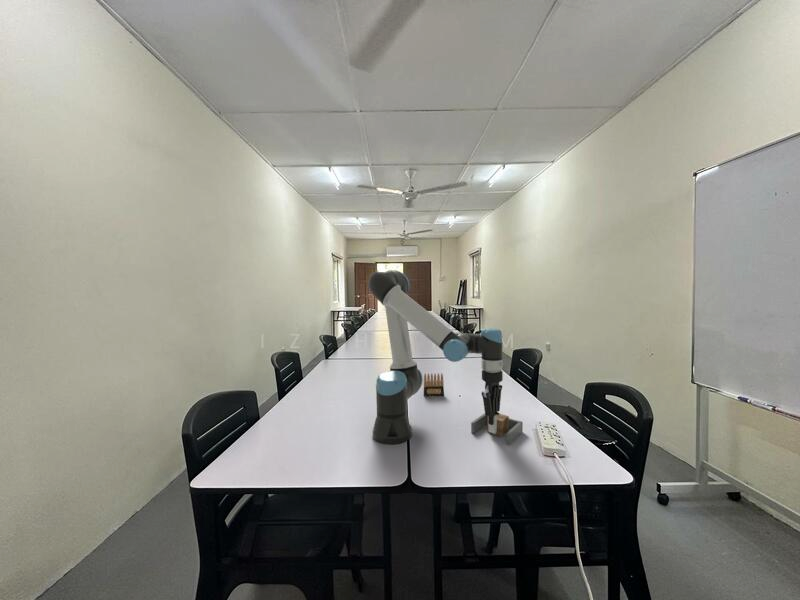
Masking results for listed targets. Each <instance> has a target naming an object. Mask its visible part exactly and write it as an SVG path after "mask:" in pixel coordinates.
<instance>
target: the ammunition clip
mask: <svg viewBox="0 0 800 600" xmlns="http://www.w3.org/2000/svg"><path fill="white" fill-rule="evenodd" d="M433 375H434V376H433ZM444 387H445V386H444V375H443V373H442V372H441V374H440V373H434V374H433V373H430V374H429V373H427V374H426V373H424V375H423V397H444V396H445V389H444Z"/></svg>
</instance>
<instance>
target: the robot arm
mask: <svg viewBox="0 0 800 600" xmlns="http://www.w3.org/2000/svg"><path fill="white" fill-rule="evenodd" d="M367 285H368V290H369V292H370V293H371V295H372V296H373V297H374V298H375V299H376V300H377V301H378V302H380V305H383V307H384V308H385V316H386V321H387V322H386V323H387V330H388V337H389V338H388V339H389V344H390V351H391V353H390V354H391V357H392V358H391V359H392V363H391V364H390V365H389V370H388V371H385V372H382V373H380V374H379V375H378V376H377V377H376V383H375V390H376V392H375V394H376V395H375V396H376V399H375V400H376V416H375V421H374V424H373V427H372V438H373V440H375V441H376V442H378V443H380V444H385V445H397V444H402V443H405V442H407V441H409V440H410V439H411V438H412V435H413V432H412V431H413V429H412V426H411V424H410V420H409V416H408V404H407V403H408V400H409V399H410V398H411V397H412V396H414V395H416V394H417V393H418V392H419V390H420V389H421V388H422V385H423V382H424V377H423V374H422V372H421V371H420V369H419V368H418V364H417V362H416V361H415V360H414V359H413V353H412V347H411V346H412V345H411V344H412V343H411V338H410V333H409V332H410V331H409V324H410V325H411V326H413V327H414V328H415V329H416V330H418V331H419V332H420V333H421V334H422V335H424V336H425V337H426V338H427V339H428V340H429V341H431V342H432V343H433V344H434V345H435V346H437V347H438V348H439V349H441V350H442V352H443V353H442V354H443V355H444V357H445V359H447V360H448V361H449V362H451V363H455V362H456V363H457V362H459V361H462V360H464V359H466V357H467V356H468V355H469V354H477V355H478V354H481V369H482V370H481V380H482V381H484V383H485V385H484V391H481V397H482V399H483V400H482V401H483V409H484V413H485V415H488V432H487V433H489V432H491V433H490V434H492V433H494V434H493V435H495V434H496V433H497V415H499V414H501V413H500V409H501V397H502V390H503V385H502V384H500V383H501V382H503V379H504V378H503V377H504V376H503V365H504V362H503V333H502V330H500V329H499V328H493V327H492V328H489V327H487V328H482V329H481V332H480V333H465V332H464V333H463V332H453V330H452V329H451V328H449V327H448V326H447V325H446V324H445V323H443V322H441V321H440V320H439V319H438V318H437V317H435V316H434V315H433V314H432V313H430V312H429V311H428V310H426V308H424V307H423V306H421V305H420V304H419V303H418V302H416V301H415V299H413V298H411V297H410V296H409V295H408V292H409V290H410V287H411V285H410V280H409V279H408V277H407V276H406V275H405V273H403V272H401V271H399V270H392V269H391V270H390V269H383V268H382V269H377V270H375V271H374V272H373V273H371V274H370V276H369V279H368V283H367ZM408 323H409V324H408Z"/></svg>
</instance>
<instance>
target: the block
mask: <svg viewBox="0 0 800 600" xmlns="http://www.w3.org/2000/svg"><path fill="white" fill-rule="evenodd" d="M509 418H510V416H509V415H506V414H502V413H500V414H499V415H497V433H496V434H494V433H491V432H488V417H487V424H486V425H487V428H486V429H487V433H489V434H493V435H496V436H498V437H501V438H502V437H505V436H506V435H507V434H506V433H507V432H508V431H510V429H509Z"/></svg>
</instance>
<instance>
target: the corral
mask: <svg viewBox="0 0 800 600" xmlns="http://www.w3.org/2000/svg"><path fill="white" fill-rule="evenodd" d="M487 417H488V415H485V412H484V413H483V414H481V415H480V416H478V417H477V418H475V419H474V420H473V421H471V423H470V426H471V427H470V428H471V429H470V430H471V431H470V433H472V434H475V433H476V432H477V431H479V430H480V429H482V428H483V427H485V426H486V425H487ZM523 425H524V424H523V421H521V420H518V419H514V418H510V417H509V431H508V432H507V433H506V434H505V435H506V445H508V446H510V445H511V444H512V443H513V442H514V441H516V439H517V438H518V437H519V436H520V435H522V433H523V427H524V426H523Z"/></svg>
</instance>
